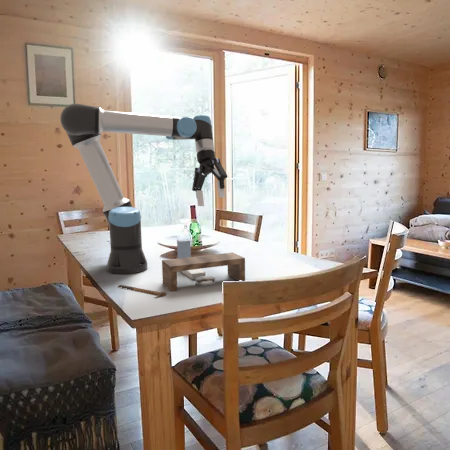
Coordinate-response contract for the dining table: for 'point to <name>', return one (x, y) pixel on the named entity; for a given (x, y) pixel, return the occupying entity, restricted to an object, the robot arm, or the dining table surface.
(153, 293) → the tomahawk
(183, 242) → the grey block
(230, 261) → the bench
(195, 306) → the dining table surface
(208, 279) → the disc
